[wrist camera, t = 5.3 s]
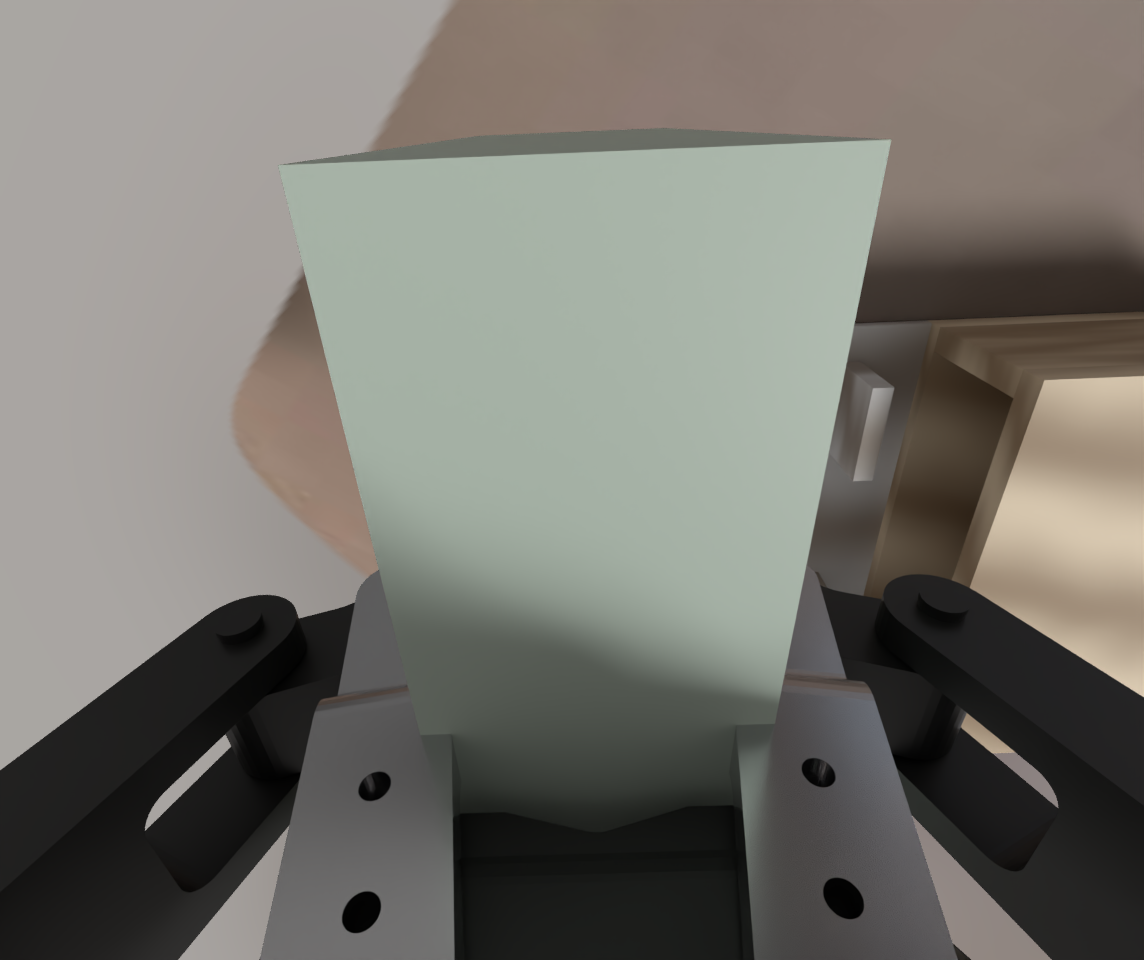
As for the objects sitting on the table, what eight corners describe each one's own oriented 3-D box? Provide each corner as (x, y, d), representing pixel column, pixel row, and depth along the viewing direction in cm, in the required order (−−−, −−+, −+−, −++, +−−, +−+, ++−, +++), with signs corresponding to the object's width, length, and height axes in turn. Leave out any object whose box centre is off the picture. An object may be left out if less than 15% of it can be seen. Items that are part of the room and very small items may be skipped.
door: (417, 138, 10) (74, 173, 3) (663, 128, 10) (889, 141, 3) (492, 663, 16) (436, 1073, 9) (645, 657, 16) (706, 1066, 9)
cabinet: (721, 329, 25) (772, 390, 19) (1222, 308, 25) (1436, 364, 19) (695, 649, 34) (723, 762, 28) (1064, 636, 34) (1174, 746, 28)
